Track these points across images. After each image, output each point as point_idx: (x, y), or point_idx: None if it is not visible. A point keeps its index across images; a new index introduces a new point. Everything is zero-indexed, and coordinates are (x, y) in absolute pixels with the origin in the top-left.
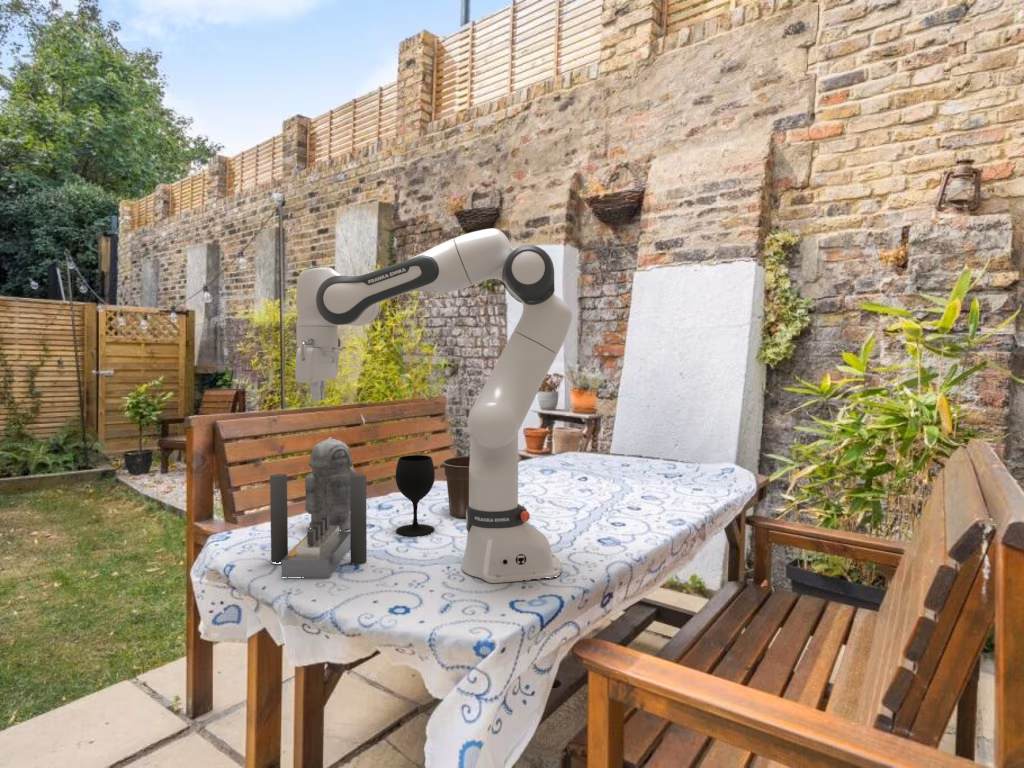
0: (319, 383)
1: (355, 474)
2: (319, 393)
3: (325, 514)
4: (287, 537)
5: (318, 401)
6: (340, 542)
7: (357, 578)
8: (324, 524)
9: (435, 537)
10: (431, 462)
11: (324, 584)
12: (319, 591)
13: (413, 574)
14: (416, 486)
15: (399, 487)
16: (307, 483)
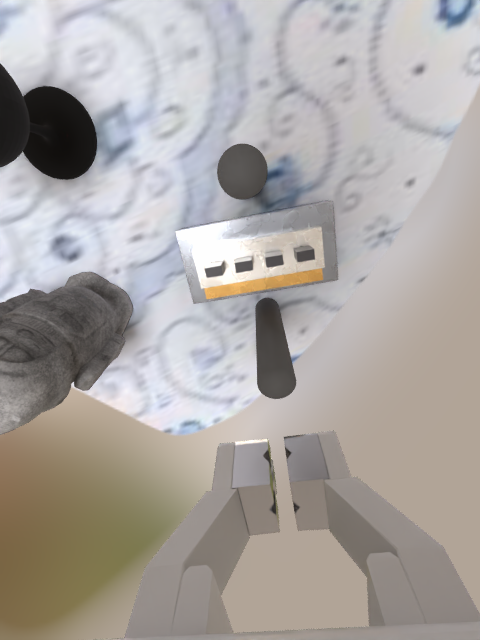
0: (427, 592)
1: (225, 190)
2: (357, 478)
3: (113, 316)
4: (266, 311)
5: (333, 431)
6: (241, 222)
7: (321, 150)
8: (238, 260)
9: (79, 69)
10: None
11: (349, 196)
12: (377, 191)
13: (294, 40)
14: (12, 81)
15: (21, 149)
16: (97, 376)
